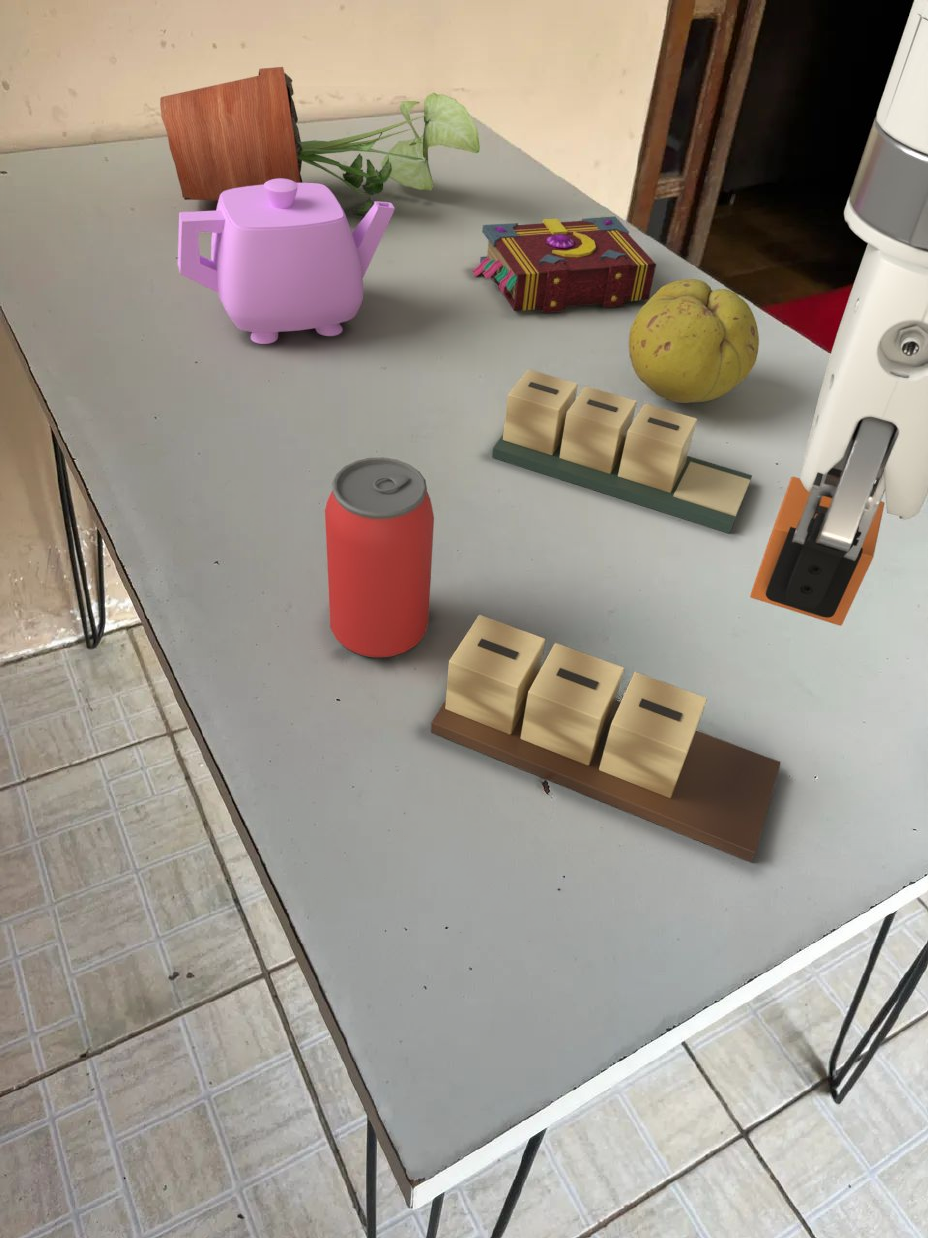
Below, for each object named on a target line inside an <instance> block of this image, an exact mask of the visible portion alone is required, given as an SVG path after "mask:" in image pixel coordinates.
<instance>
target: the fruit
mask: <svg viewBox="0 0 928 1238" xmlns="http://www.w3.org/2000/svg"><path fill="white" fill-rule="evenodd" d="M759 346H760V336H759V328H758V324H757V321H756V318H755V315H754V313H753V311H752V309H751V307H750V306H749V304H748V303H747V301H745V299H743V298H742V297H740V296H739V294H737V293H736V292H734V291H732V290H730V289H727V288H718V289H715V290H712V288H711V286H710V285H709V284H708V283H707V282H705V281H704V280H701V279H698V278H686V279H678V280H677V279H676V280H674V281H671V282H669V283H666V284H665V285H663V286H661V287H660V288H659V289H658V290H657V291H656V292H655V293H654V294H653V295H652V296H651V297H649V299H648V300H647V302H646V303H645V304H643V305H642V306H641V308H639V310H638V312H637V314H636V316H635V318H634V320H633V322H632V324H631V327H630V330H629V336H628V352H629V359H630V363H631V367H632V369H633V371H634V373H635V374H636V376H637V378H638V379H639V380H640V382H641V383H643V384H644V385H645V386H646V387H647V388H648V389H649V390H651V391H652V392H653V393H655V395H657V396H659V397H661V398H662V399H665V400H667V401H670V402H671V401H672V402H675V403H683V404H684V403H687V404H688V403H703V402H709V401H713V400H716V399H718V398H720V397H722V396H725V395H726V394H727V393H728V392H730V391H731V390H732V389H733V388H735V387H737V386H739V384H740V383H741V382H742V381H743V380H744V379H746V378H747V377H748V375H749V374H750V373H751V371H752V370H753V368H754V366H755V365H756V361H757V358H758V353H759Z"/></svg>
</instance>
